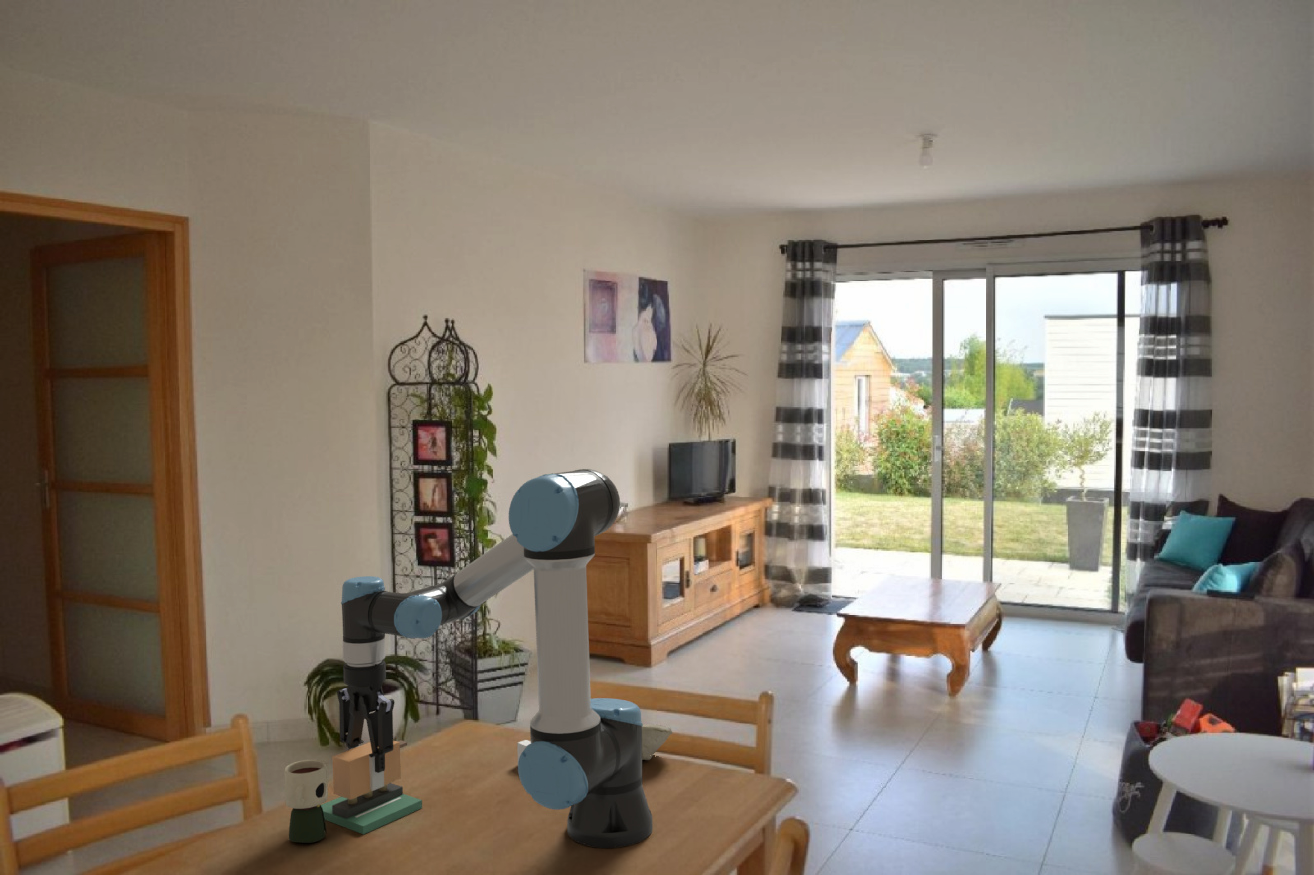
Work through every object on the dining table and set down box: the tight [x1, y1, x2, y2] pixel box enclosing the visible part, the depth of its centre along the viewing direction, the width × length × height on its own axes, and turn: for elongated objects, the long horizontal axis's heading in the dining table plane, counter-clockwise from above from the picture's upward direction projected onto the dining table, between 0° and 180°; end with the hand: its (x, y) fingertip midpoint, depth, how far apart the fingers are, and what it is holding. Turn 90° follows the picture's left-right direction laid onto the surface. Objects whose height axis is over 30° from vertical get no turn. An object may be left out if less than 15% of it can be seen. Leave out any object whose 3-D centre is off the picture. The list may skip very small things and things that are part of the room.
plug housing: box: [331, 739, 408, 800], centre depth 193 cm, size 5×15×7 cm, turn 145°
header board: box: [320, 782, 423, 835], centre depth 192 cm, size 14×14×7 cm
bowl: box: [642, 723, 673, 761], centre depth 217 cm, size 15×14×10 cm
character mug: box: [283, 759, 329, 844], centre depth 181 cm, size 11×7×13 cm, turn 5°
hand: (367, 784), depth 192 cm, fingers closed on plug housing, 5 cm apart
